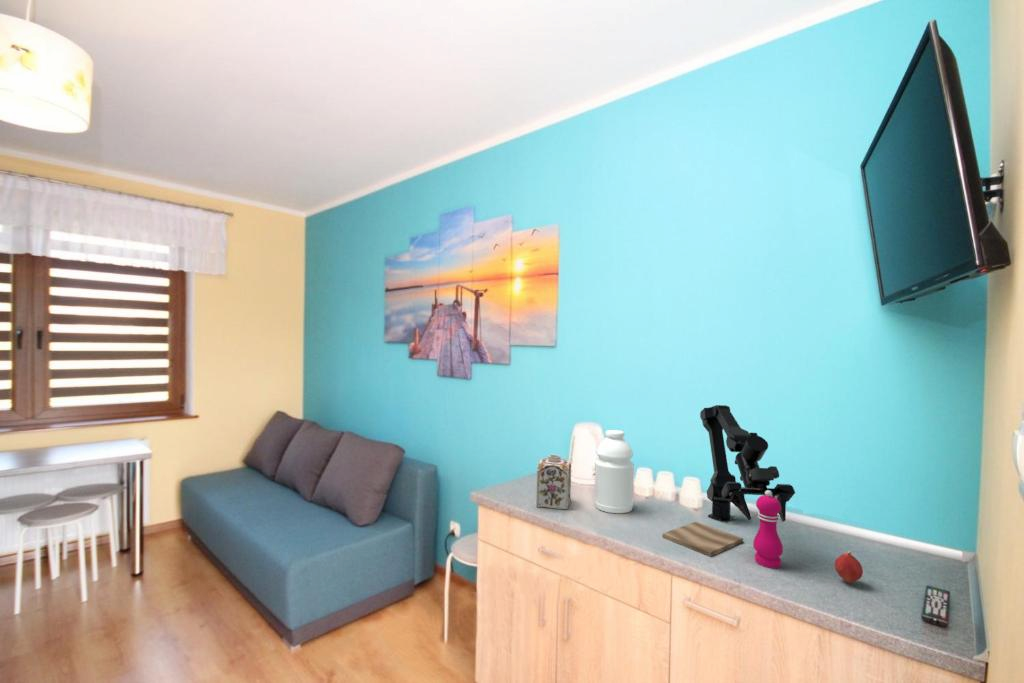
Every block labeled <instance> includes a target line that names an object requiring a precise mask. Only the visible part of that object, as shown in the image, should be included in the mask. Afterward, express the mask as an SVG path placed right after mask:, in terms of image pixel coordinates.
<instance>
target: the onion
mask: <svg viewBox="0 0 1024 683" xmlns="http://www.w3.org/2000/svg"><path fill="white" fill-rule="evenodd" d="M834 569H835V572H836V573H837V574H838V576H839V577H840V578H842V580H844V582H845V583H847V584H852V583H854V582H856V581H858V580H860V579H861V578H862V576H863V573H864V569H863V565H862V564H861V563H860V561H859V560H858V559H857V558H856V557H855V556H853V554H852V551H847V552H845V553H843V554H840V555H839V556H838V557H837V558H836V559H835V561H834Z"/></svg>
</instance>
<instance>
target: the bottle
mask: <svg viewBox="0 0 1024 683" xmlns="http://www.w3.org/2000/svg"><path fill="white" fill-rule="evenodd" d="M605 436H606V437H605V438H604V439H603V440H602V441H600V443H599V445H598V447H597V448H596V452H595V453H596V455H597V456H598V458H597V459H596V460H595V462H594V471H595V472H594V507H595V508H597V510H599V511H602V512H604V511H605V512H606V513H609V514H626V513H629V512H631V511H632V510H633V508H634V470H635V469H634V468H635V465H634V463H633V462H632V461H631V458H633V456H634V453H633V450H632V448H631V446H630V444H629V443H628V442H627V440H626V439H625V438H624V437H625V432H624V431H623V430H618V429H617V430H616V429H608V430H605Z"/></svg>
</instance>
